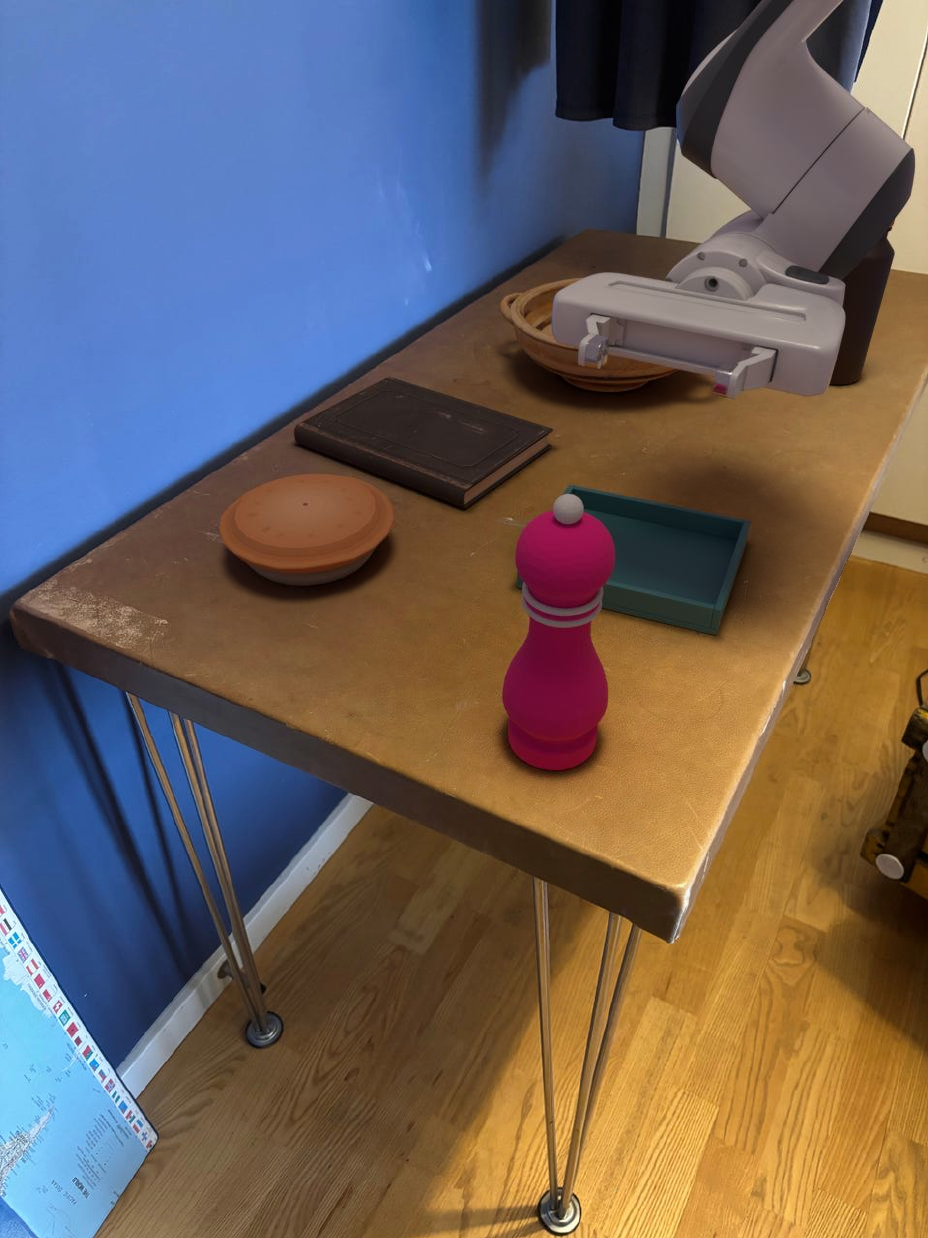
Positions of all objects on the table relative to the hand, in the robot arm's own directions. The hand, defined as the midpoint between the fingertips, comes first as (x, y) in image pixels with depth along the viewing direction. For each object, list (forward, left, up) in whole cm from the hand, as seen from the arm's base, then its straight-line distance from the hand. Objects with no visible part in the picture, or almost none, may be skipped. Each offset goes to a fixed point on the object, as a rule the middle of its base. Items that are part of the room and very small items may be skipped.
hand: (654, 370), depth 60 cm
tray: (+1, -10, -23) cm, 25 cm away
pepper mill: (+1, +13, -23) cm, 26 cm away
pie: (+29, -1, -23) cm, 37 cm away
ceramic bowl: (+15, -49, -23) cm, 56 cm away
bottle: (-11, -59, -23) cm, 64 cm away
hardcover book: (+28, -23, -23) cm, 43 cm away
